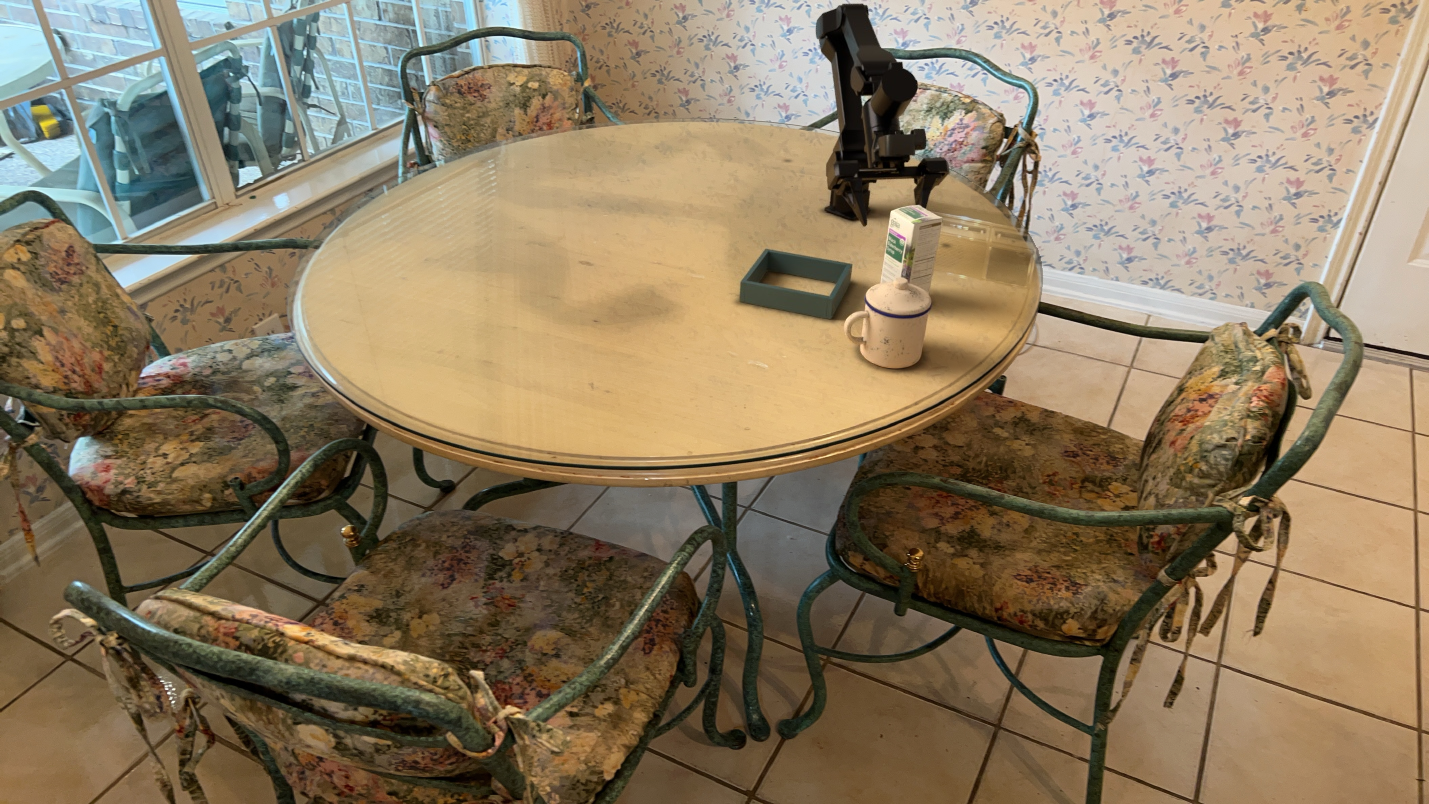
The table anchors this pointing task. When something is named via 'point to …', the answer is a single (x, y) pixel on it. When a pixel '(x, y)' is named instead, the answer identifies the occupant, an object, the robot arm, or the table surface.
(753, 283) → the teal square frame
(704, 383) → the table surface
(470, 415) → the table surface
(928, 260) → the syrup box
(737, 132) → the table surface
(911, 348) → the teacup with lid
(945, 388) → the table surface
